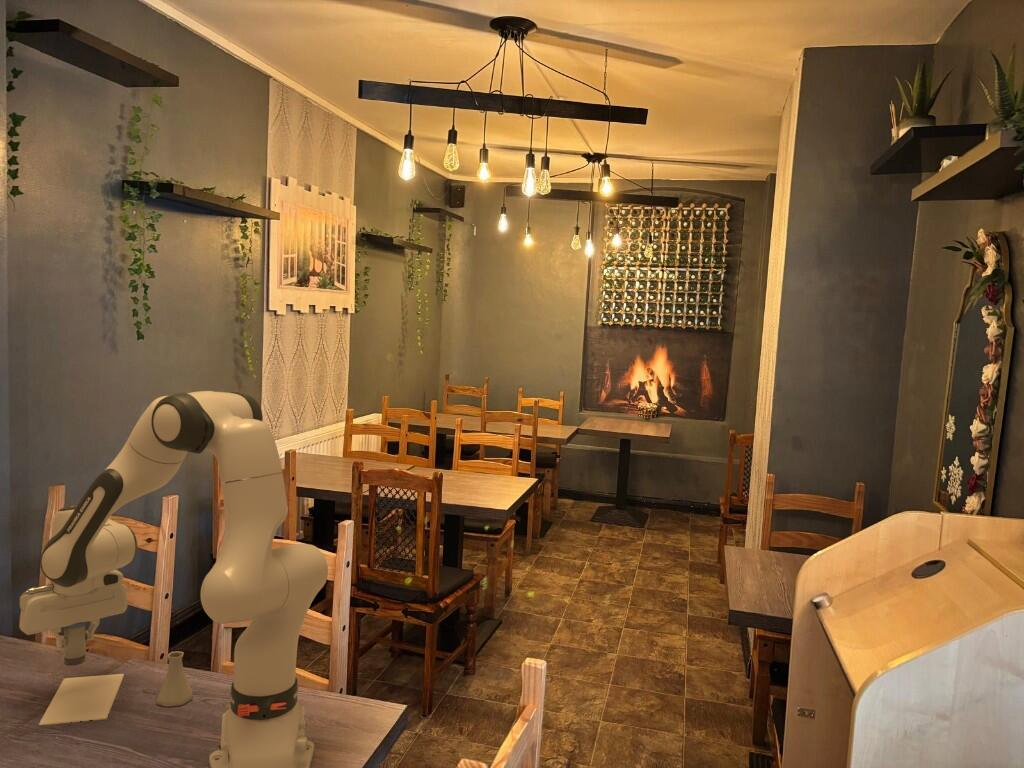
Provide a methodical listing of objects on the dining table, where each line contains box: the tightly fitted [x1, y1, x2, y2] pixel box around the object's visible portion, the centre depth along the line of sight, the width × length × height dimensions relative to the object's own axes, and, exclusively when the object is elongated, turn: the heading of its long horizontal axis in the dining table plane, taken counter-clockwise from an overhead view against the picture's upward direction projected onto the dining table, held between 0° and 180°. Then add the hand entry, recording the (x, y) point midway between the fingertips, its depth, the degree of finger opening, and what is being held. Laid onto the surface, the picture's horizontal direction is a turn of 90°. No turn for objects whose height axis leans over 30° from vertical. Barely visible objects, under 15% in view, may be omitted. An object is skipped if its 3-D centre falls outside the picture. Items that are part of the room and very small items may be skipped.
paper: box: [38, 673, 125, 726], centre depth 163 cm, size 20×12×1 cm, turn 18°
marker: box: [63, 622, 87, 667], centre depth 165 cm, size 4×4×9 cm
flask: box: [156, 650, 194, 708], centre depth 164 cm, size 7×7×10 cm
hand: (75, 642), depth 165 cm, fingers closed on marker, 4 cm apart
